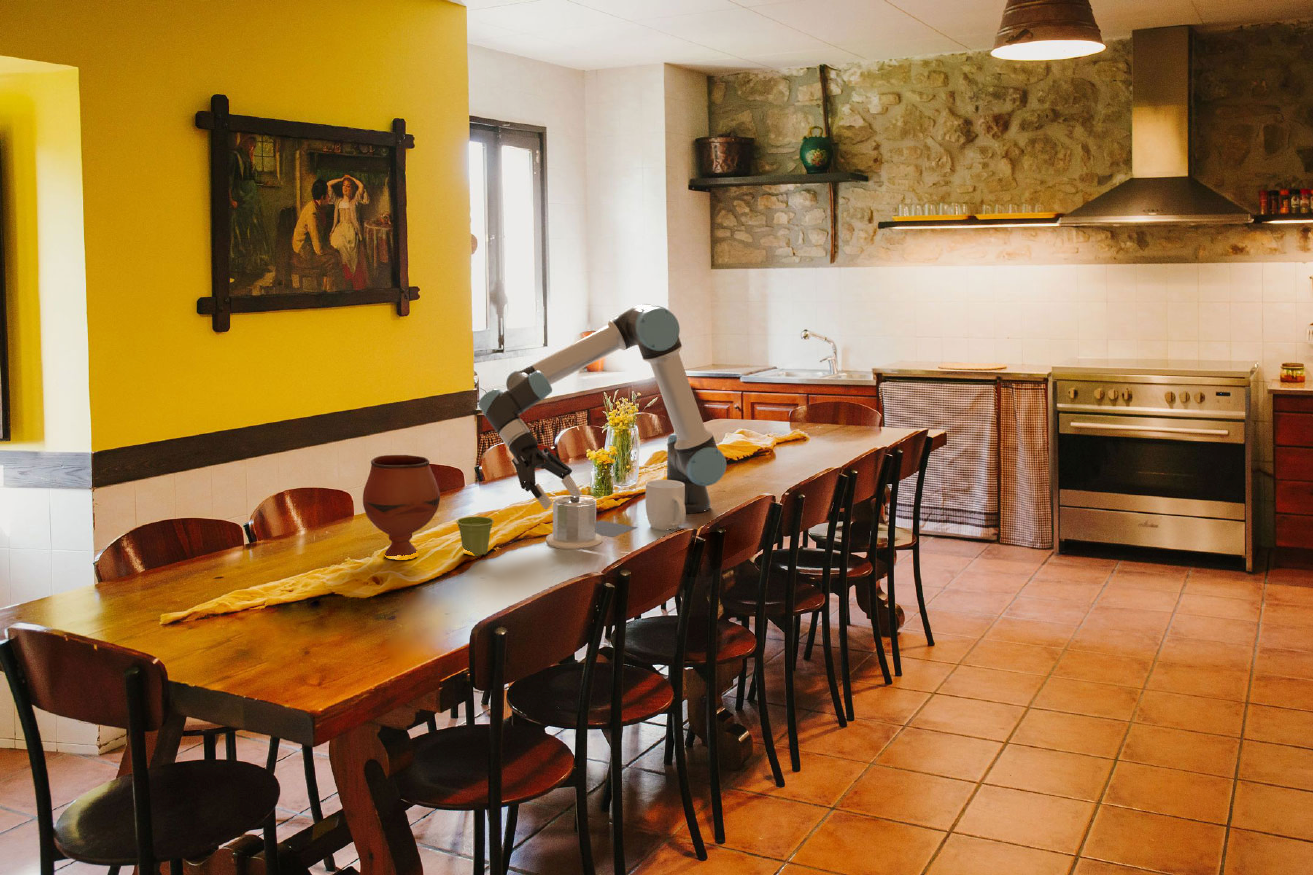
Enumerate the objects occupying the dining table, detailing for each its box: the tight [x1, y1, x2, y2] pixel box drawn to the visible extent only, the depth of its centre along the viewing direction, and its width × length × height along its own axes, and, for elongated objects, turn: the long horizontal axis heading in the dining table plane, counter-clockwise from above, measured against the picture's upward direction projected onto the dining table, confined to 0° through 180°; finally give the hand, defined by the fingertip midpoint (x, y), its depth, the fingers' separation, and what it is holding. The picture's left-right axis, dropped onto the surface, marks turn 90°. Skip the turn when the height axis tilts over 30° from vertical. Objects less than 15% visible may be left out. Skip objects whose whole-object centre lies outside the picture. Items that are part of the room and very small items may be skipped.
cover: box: [552, 495, 597, 543], centre depth 308 cm, size 11×11×11 cm
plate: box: [545, 532, 604, 551], centre depth 309 cm, size 15×15×5 cm
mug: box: [645, 479, 687, 531], centre depth 323 cm, size 15×11×13 cm
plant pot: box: [456, 516, 495, 557], centre depth 296 cm, size 9×9×9 cm
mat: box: [596, 520, 638, 538], centre depth 322 cm, size 13×13×1 cm
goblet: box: [362, 454, 441, 556], centre depth 290 cm, size 19×19×25 cm
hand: (564, 501), depth 309 cm, fingers open, 13 cm apart
